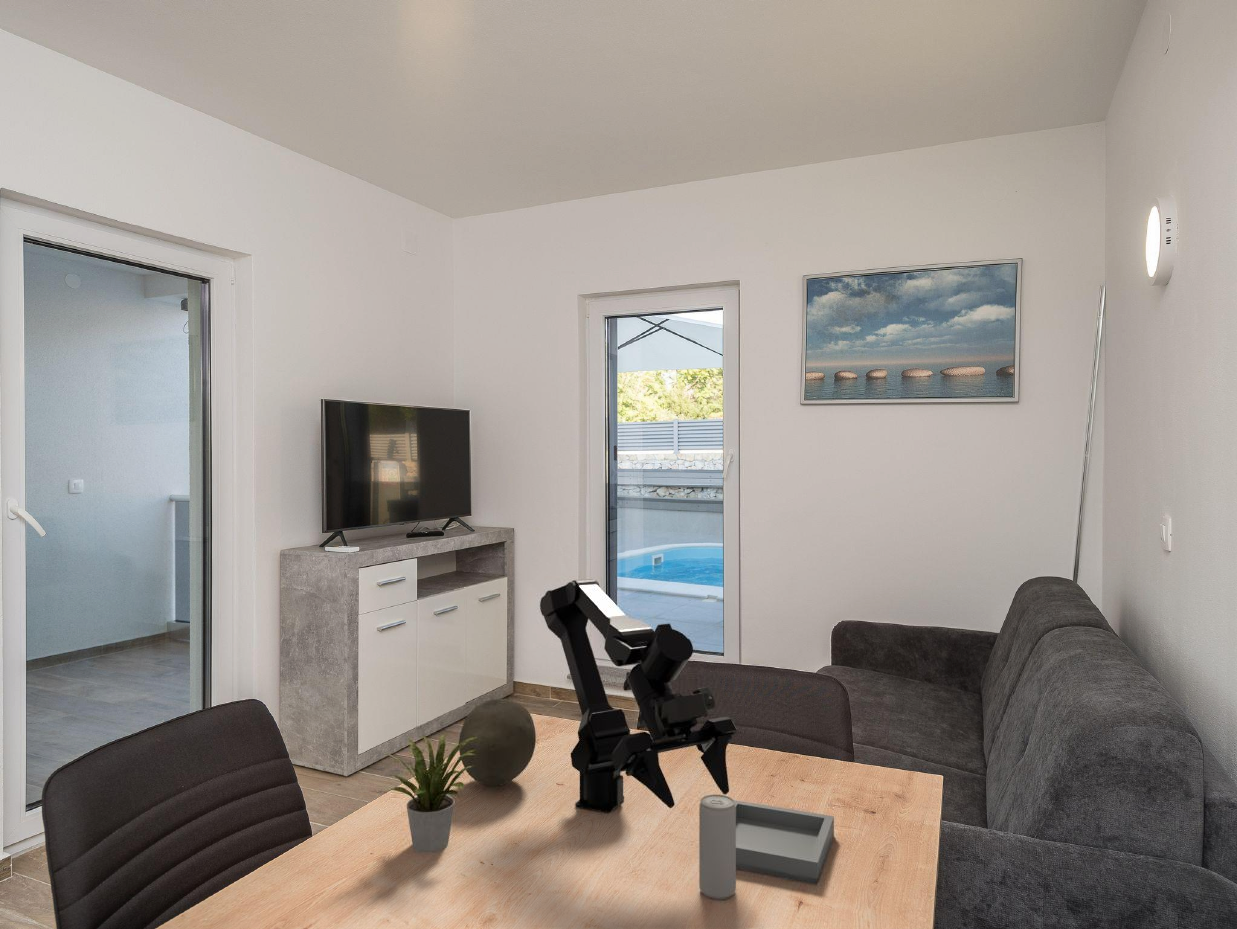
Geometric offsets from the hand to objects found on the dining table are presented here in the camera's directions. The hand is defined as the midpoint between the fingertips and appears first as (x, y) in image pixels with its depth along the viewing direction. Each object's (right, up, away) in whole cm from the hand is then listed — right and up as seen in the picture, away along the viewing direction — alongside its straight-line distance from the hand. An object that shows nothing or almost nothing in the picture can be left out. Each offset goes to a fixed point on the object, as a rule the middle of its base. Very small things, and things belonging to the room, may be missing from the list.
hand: (700, 799), depth 110 cm
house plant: (-38, -11, +10) cm, 41 cm away
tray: (+11, -11, +9) cm, 18 cm away
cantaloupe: (-33, -11, +33) cm, 48 cm away
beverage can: (+2, -11, -4) cm, 12 cm away
